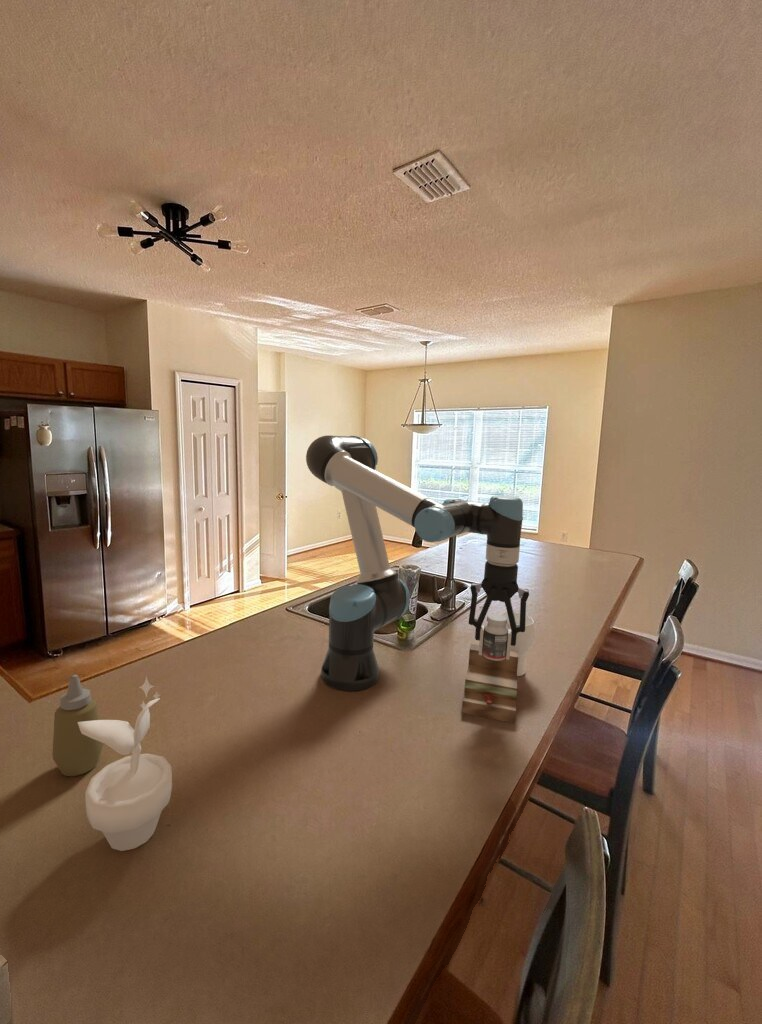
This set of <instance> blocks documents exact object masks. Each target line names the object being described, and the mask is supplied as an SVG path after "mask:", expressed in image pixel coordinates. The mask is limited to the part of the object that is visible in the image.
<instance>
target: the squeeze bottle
mask: <svg viewBox="0 0 762 1024" xmlns="http://www.w3.org/2000/svg"><path fill="white" fill-rule="evenodd" d="M91 696H92V695H91V690H90V689H88V688H83V686H82V683H81V680H80V677H79V676H78V674H72V675H70V676H69V681H68V686H67V690H66V692H64V693H62V695H61V696H60V697H59V707H58V708H56V710H55V711H54V717H53V719H54V720H53V735H52V737H53V738H52V759H53V762H54V763H55V765H56V766H57V768H58V770H59V772H60V773H61V774H62V775H64V776H65V777H76V776H81V775H83V774H86V773H88V772H90V771H91V770H93V769H94V768H95V767H96V766H97V765H98V763H99V760H100V758H101V755H102V752H103V748H104V746H105V743H102V742H99V741H97V740H94V739H92V738H90V737H88V736H86V735H83V734H81V731H80V728H79V726H78V722H83V721H93V720H101V718H100V713H99V707H98V704H97V703H98V702H97V701H96V700H94V699H93V698H92V697H91Z"/></svg>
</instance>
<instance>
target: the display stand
mask: <svg viewBox="0 0 762 1024" xmlns="http://www.w3.org/2000/svg"><path fill="white" fill-rule="evenodd" d="M469 647H470V648H469V656H468V665H467V669H466V675H465V680H464V691H463V697H462V701H461V703H462V704H461V713H463V714H467V715H472V716H477V717H482V718H487V719H492V720H498V721H503V722H509V723H512V724H516V715H517V714H516V713H517V696H518V695H517V694H518V676H517V667H518V651H513V650H510V658H509V660H508V659H506V658H505V659H503V660H500V661H495V660H490V659H487V658H486V657H484V656H483V654H482V655H479V644H475V643H470V646H469Z"/></svg>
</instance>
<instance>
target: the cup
mask: <svg viewBox="0 0 762 1024" xmlns="http://www.w3.org/2000/svg"><path fill="white" fill-rule="evenodd" d="M513 613H514V617H515V621H516V625H520V612H514V611H513ZM499 614H500V615H503V616H505V617H507V624H506V626H507V628H508V629H511V627H510V622H509V618H508V614H507V611H505V612H501V613H499ZM535 635H536V626H535V621H534V619H533V618H532V617H531V616H529V615H527V614H526V620H525V631H524V632H518V633H517V635H516V644H515V646H512V645H511V646H510V650H513V651H518V667H517V677H522V676H523V675H525V674H526V671H527V670H526V657H527V653H528V650H530V649H531V647H532V645H533V643H534V640H535V638H536V636H535Z"/></svg>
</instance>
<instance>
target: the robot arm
mask: <svg viewBox="0 0 762 1024" xmlns="http://www.w3.org/2000/svg"><path fill="white" fill-rule="evenodd" d="M378 460H379V457H378V453H377V449H376V447H375V445H373V443H371V441H369V440H368V439H366V438H364V437H360V436H358V435H349V436H348V435H322V436H319V437H317V438H316V439H314V440H313V441H312V442H311V443H310V445H309V447H308V448H307V450H306V455H305V463H306V465H307V469H308V470H309V471H310V473H311V474H312V475H313V476H314V477H316V478H317V479H318V480H320V481H321V482H323V483H325V484H327V485H329V486H331V487H334V488H336V489H337V490H339V491H340V492H341V495H342V499H343V504H344V508H345V513H346V516H347V520H348V525H349V529H350V533H351V537H352V538H351V539H352V543H353V548H354V551H355V556H356V561H357V564H358V569H359V573H360V574H359V576H358V577H357V579H356V584H355V583H354V584H352V585H349V584H347V585H345V586H341V587H340V588H339V587H338V588H337V589H336V590H335V591H334V592H332V594H331V596H330V601H329V605H328V613H329V614H328V615H329V616H328V622H329V623H328V648H327V651H326V654H325V657H324V660H323V662H322V665H321V671H320V675H321V680H322V682H323V683H324V684H325V685H327V686H328V687H331V688H332V689H335V690H339V691H347V692H355V691H356V692H357V691H363V690H365V689H368V688H370V687H373V685H375V684H376V683H377V682H378V680H379V677H380V675H379V671H380V670H379V669H380V668H379V665H378V661H377V657H376V654H375V650H374V638H375V636H374V635H375V631H377V630H379V629H381V628H383V627H385V626H387V625H388V624H390V623H394V622H395V621H398V619H400V618H401V617H403V615H404V614H406V612H407V610H408V609H409V606H410V603H411V596H410V595H411V593H410V590H409V588H408V586H407V584H406V583H404V582H403V580H402V579H400V578H399V577H398V571H396V570H395V569H393V568H392V567H391V565H390V563H389V558H388V553H387V552H388V551H387V549H386V548H387V547H386V544H385V540H384V535H383V532H382V528H381V523H380V519H379V518H380V517H379V514H378V510H377V508H378V509H380V510H382V511H384V512H386V513H388V514H389V515H392V516H393V517H395V518H397V519H398V520H400V521H403V522H404V523H405V524H408V525H409V526H411V527H414V530H415V532H416V534H417V535H418V536H419V538H420V539H421V540H423V541H425V542H427V543H437V542H443V541H446V540H448V539H450V538H452V537H453V538H454V537H455V536H459V535H461V534H465V533H472V534H478V535H486V547H485V560H486V561H484V574H483V579H482V581H481V582H479V583H476V582H472V583H471V584H470V591H471V592H470V593H471V600H470V609H469V616H468V625H470V626H474V627H475V633H474V634H475V636H474V639H475V641H479V644H478V645H479V655H482V647H483V636H484V626H485V625H483V623H484V620H485V618H486V616H487V613H488V611H489V609H490V607H491V605H492V602H497V601H499V602H501V603H504V605H505V609H506V612H507V614H508V618H509V622H510V627H511V629H508V641H507V652H506V659H508V660H509V658H510V646H511V645H512V646H515V644H516V635H517V633H518V632H524V631H525V620H526V615H527V614H526V613H527V601H528V598H529V596H530V591H529V589H528V588H522V587H519V585H518V572H519V571H518V570H519V565H518V563H519V560H520V549H521V535H522V526H523V520H524V517H523V515H524V514H523V513H524V511H523V510H524V509H523V508H524V507H523V506H524V502H523V500H522V499H521V497H520V498H519V497H517V496H510V495H493V496H491V497H490V498H489V502H479V501H478V502H477V501H472V500H464V499H459V498H457V499H454V498H452V499H451V498H448V499H445V500H444V501H443V503H440V502H439V501H436V500H434V499H433V498H430V497H428V496H426V495H424V494H423V493H421V492H419V491H416V490H415V489H412V488H410V487H408V486H407V485H404V484H403V483H401V482H398V481H396V480H395V479H393V478H391V477H390V476H387V475H385V474H383V473H381V472H379V471H377V470H376V469H377V465H378V462H379V461H378ZM481 589H482V590H483V591H484V593H485V594H486V598H485V600H484V604H483V606H482V608H481V610H480V612H479V615H478V617H477V619H476V611H477V601H478V594H479V593H480V592H481ZM517 593H518V598H519V599H520V601H519V602H520V604H519V605H520V607H519V613H520V625H516V621H515V617H514V613H513V612H514V610H513V605H512V604H513V603H512V598H513V596H514V595H515V594H517Z"/></svg>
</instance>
